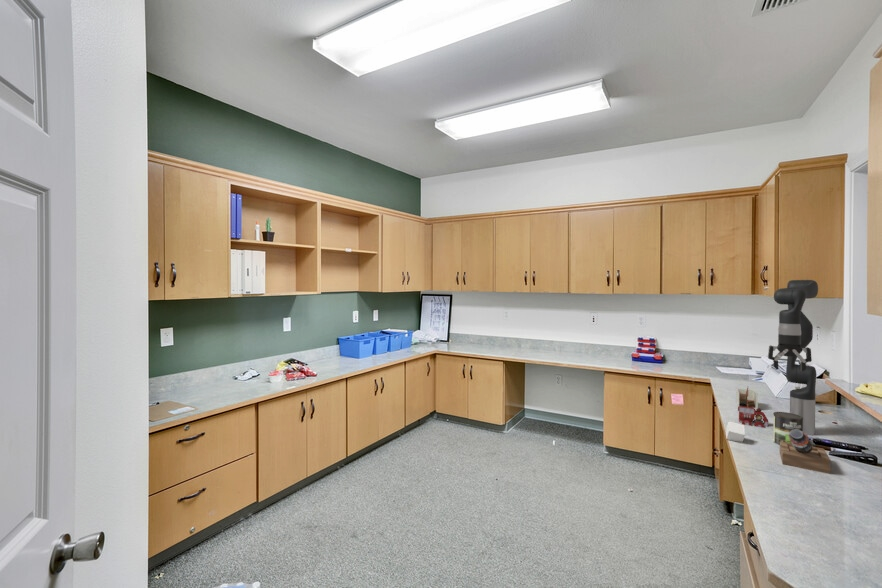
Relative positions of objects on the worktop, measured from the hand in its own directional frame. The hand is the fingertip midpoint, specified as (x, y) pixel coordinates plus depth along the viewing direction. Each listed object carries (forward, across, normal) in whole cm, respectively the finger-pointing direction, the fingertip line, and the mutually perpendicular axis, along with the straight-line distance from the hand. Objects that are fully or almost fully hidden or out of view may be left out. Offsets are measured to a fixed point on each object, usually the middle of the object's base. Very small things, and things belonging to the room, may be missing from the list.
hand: (789, 370), depth 174 cm
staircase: (+37, +8, -60) cm, 71 cm away
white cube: (+36, +19, 0) cm, 41 cm away
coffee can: (+36, -1, -7) cm, 37 cm away
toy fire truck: (+36, +9, -29) cm, 47 cm away
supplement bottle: (+29, -2, +14) cm, 32 cm away
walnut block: (+36, -2, +14) cm, 39 cm away
